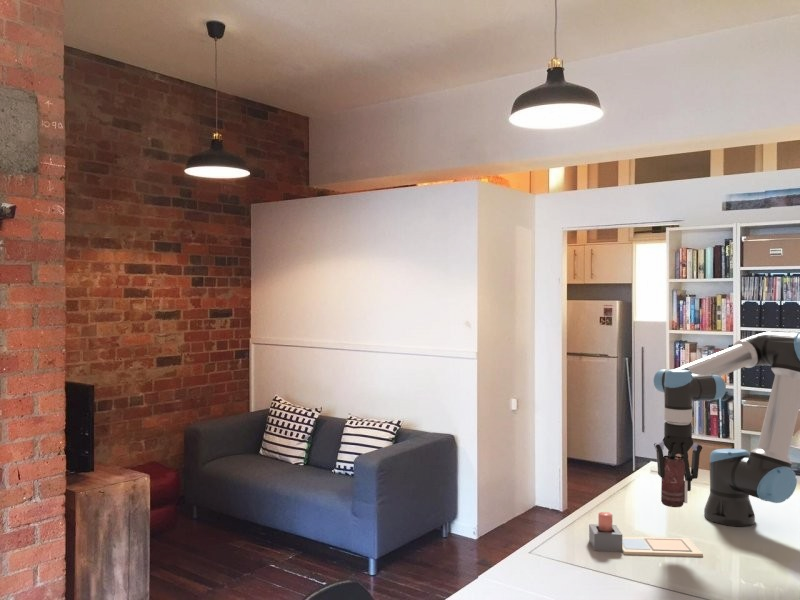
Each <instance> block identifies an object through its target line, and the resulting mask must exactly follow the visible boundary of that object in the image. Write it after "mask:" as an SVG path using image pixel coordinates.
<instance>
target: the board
mask: <svg viewBox="0 0 800 600" xmlns="http://www.w3.org/2000/svg"><path fill="white" fill-rule="evenodd" d="M622 553H623V555H632V556H633V555H634V556H635V555H637V556H638V555H639V556H671V557H672V556H673V557H698V558H699V557H704V553H703V552H702V551H701V550H700V549H699V548H698V547H697V546H696V544H694V542H693V541H692V540H691V539H690V538H688V537H655V536H654V537H650V536H648V537H647V536H622Z"/></svg>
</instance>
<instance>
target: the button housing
mask: <svg viewBox="0 0 800 600" xmlns="http://www.w3.org/2000/svg"><path fill="white" fill-rule="evenodd" d="M588 527H589V530H588V538H589V539H588V541H589V543H590V545H591V548H592V549H593V550H594V552H620V553H621V552H622V537H623V533H622V532H621V530H620V529H619V527H618V525H617V524H612V531H610V532H604V531H600V530H599V529H598V523H597V524H588ZM622 553H623V552H622Z"/></svg>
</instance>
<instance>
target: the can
mask: <svg viewBox="0 0 800 600" xmlns="http://www.w3.org/2000/svg"><path fill="white" fill-rule="evenodd" d="M663 459H664V473H665V477H664V478H661V490H660V491H661V492H660V494H661V495H660V496H661V497H660V500H661V501H660V502H661V503H662V505H663V506H666V507H669V508H682V507H683V506H684V504H685V503H684V479H685V477H684V471H685V463H684V459H683V458H682V457H681V456H677V455H676V457H675V459H674V460H671V459H669V457H668V454H666V455H663Z"/></svg>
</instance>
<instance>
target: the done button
mask: <svg viewBox="0 0 800 600" xmlns="http://www.w3.org/2000/svg"><path fill="white" fill-rule="evenodd" d="M597 514H598V517H597V518H598V523H597V525H598V529H599V530H600V531H604V532H610V531H612V525H613V514H612V513H611V512H607V511H601V512H598V513H597Z"/></svg>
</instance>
